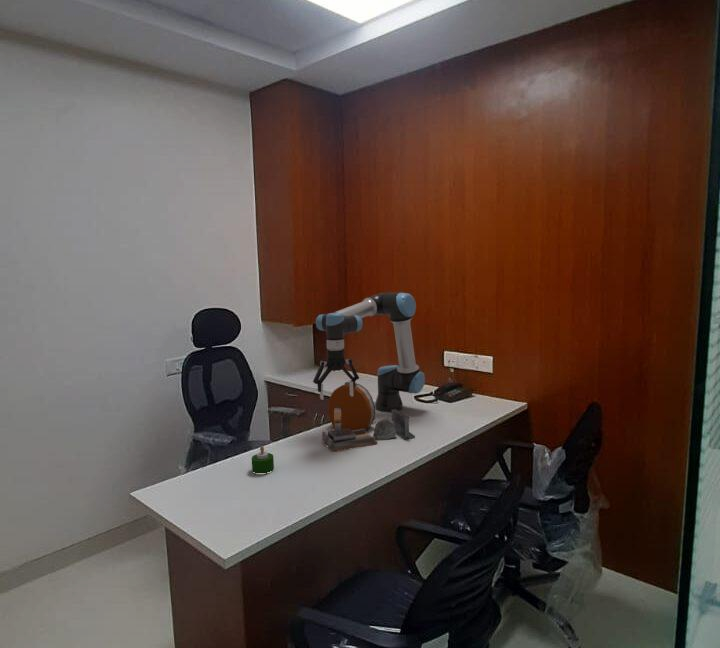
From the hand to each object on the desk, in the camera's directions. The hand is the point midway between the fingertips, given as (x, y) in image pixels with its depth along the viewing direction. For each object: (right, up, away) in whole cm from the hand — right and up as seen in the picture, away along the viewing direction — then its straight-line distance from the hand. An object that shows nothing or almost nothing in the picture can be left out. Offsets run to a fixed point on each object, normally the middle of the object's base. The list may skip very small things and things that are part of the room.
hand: (336, 397), depth 211 cm
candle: (-28, -25, -23) cm, 44 cm away
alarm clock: (+7, -19, +25) cm, 32 cm away
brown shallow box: (+5, -21, +5) cm, 22 cm away
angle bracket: (+30, -19, +14) cm, 38 cm away
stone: (+22, -20, +11) cm, 31 cm away
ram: (+2, -20, +3) cm, 20 cm away
